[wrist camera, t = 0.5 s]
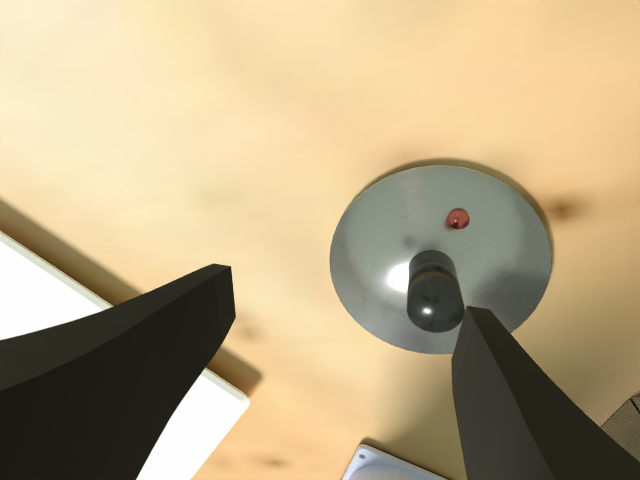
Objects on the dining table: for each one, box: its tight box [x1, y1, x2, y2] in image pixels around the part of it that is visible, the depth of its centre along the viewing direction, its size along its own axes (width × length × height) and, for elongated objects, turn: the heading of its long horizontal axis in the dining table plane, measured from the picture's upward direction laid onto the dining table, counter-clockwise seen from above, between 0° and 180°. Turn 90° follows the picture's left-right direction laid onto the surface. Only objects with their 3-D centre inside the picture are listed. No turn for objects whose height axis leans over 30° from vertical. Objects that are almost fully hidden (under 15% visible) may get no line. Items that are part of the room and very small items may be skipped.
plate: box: [0, 231, 251, 480], centre depth 33 cm, size 26×26×2 cm
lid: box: [330, 165, 551, 354], centre depth 18 cm, size 12×12×5 cm
